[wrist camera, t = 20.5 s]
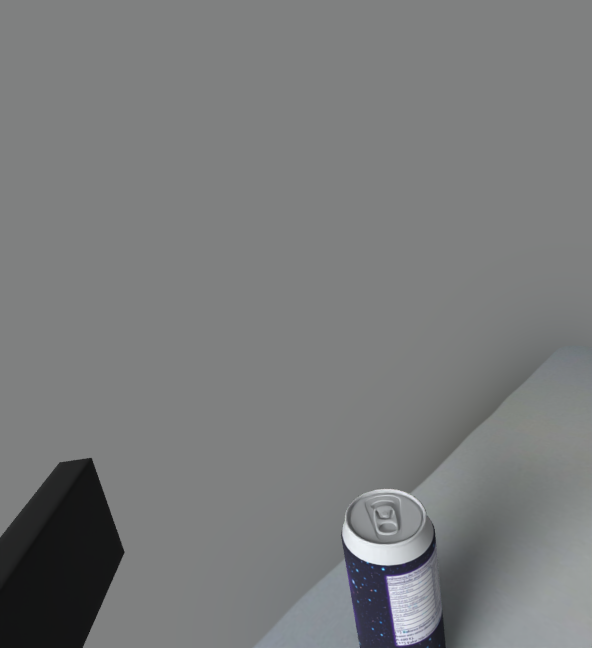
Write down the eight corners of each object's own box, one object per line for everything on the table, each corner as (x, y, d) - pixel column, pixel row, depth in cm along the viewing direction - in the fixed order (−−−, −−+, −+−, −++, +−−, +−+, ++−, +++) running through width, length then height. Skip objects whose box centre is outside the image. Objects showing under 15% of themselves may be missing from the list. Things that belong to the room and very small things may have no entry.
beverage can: (435, 616, 35) (422, 479, 32) (457, 698, 30) (444, 545, 26) (358, 623, 36) (336, 489, 32) (366, 704, 30) (340, 555, 27)
